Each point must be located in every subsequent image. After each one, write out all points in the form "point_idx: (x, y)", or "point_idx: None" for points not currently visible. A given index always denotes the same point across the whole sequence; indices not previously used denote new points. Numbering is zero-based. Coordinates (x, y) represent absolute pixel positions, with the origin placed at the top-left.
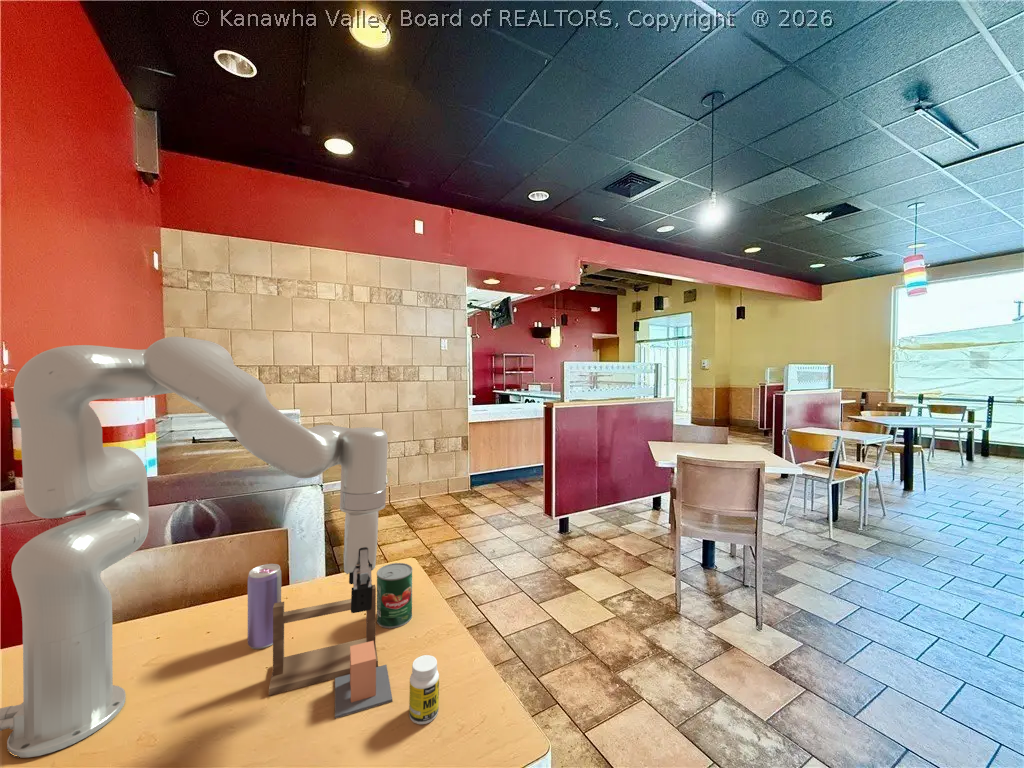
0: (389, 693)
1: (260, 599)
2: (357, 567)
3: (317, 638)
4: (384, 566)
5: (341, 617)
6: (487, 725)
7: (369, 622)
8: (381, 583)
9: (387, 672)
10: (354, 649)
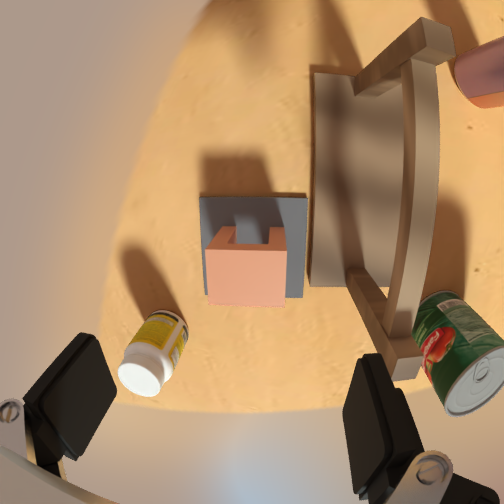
0: None
1: None
2: (366, 451)
3: (452, 172)
4: None
5: (489, 224)
6: None
7: (365, 305)
8: (472, 351)
9: None
10: (266, 261)
